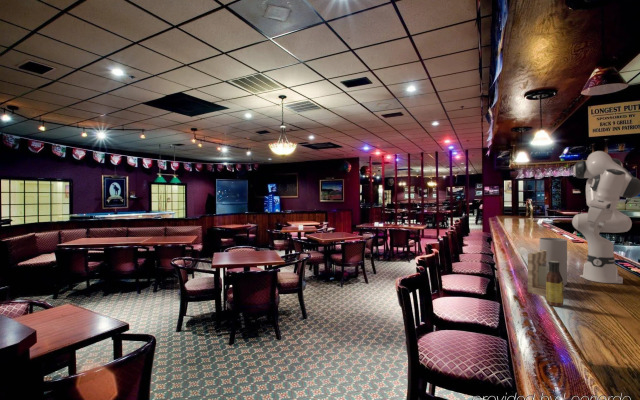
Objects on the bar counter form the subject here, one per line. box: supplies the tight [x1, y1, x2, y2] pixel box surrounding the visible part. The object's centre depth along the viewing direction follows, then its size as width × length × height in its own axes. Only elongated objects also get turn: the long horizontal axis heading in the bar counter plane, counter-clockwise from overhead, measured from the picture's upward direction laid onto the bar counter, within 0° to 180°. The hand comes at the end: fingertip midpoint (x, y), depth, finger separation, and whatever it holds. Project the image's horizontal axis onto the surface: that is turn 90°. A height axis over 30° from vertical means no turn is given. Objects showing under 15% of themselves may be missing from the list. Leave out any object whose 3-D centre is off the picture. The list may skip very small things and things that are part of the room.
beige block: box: [538, 263, 549, 286], centre depth 164 cm, size 5×4×12 cm
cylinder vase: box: [539, 237, 568, 286], centre depth 177 cm, size 12×12×25 cm
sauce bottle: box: [545, 261, 564, 307], centre depth 143 cm, size 7×6×20 cm
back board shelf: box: [527, 249, 565, 297], centre depth 162 cm, size 18×10×20 cm, turn 125°
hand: (595, 229), depth 155 cm, fingers open, 8 cm apart
